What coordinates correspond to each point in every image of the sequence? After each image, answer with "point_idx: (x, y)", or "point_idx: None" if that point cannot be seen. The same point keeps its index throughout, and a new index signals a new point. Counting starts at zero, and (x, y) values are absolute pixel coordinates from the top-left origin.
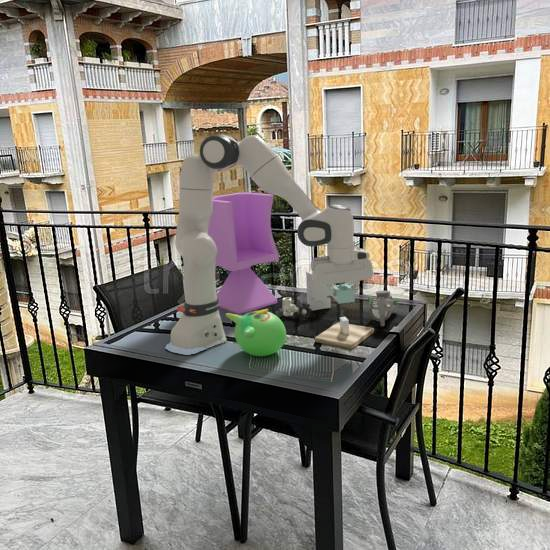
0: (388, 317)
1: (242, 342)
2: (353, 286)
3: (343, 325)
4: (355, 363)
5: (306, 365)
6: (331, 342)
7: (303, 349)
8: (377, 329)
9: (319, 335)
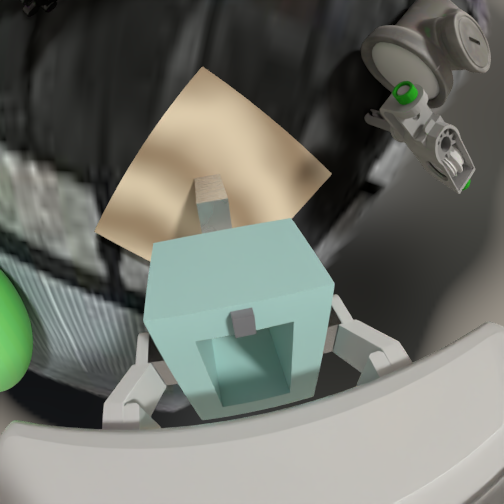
0: None
1: None
2: (348, 340)
3: None
4: None
5: (106, 347)
6: None
7: (74, 274)
8: (343, 145)
9: (109, 214)
